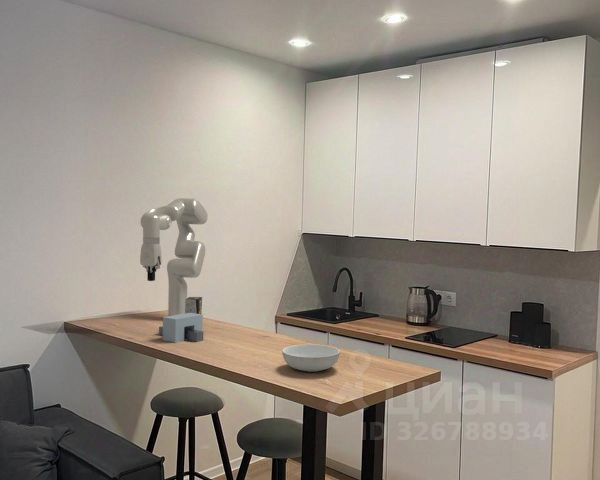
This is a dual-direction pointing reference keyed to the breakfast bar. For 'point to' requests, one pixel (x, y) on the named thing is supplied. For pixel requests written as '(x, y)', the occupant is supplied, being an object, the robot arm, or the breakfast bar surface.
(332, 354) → the serving bowl
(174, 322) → the cross-hole block
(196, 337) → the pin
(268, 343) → the breakfast bar surface
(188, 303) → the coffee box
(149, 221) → the robot arm
